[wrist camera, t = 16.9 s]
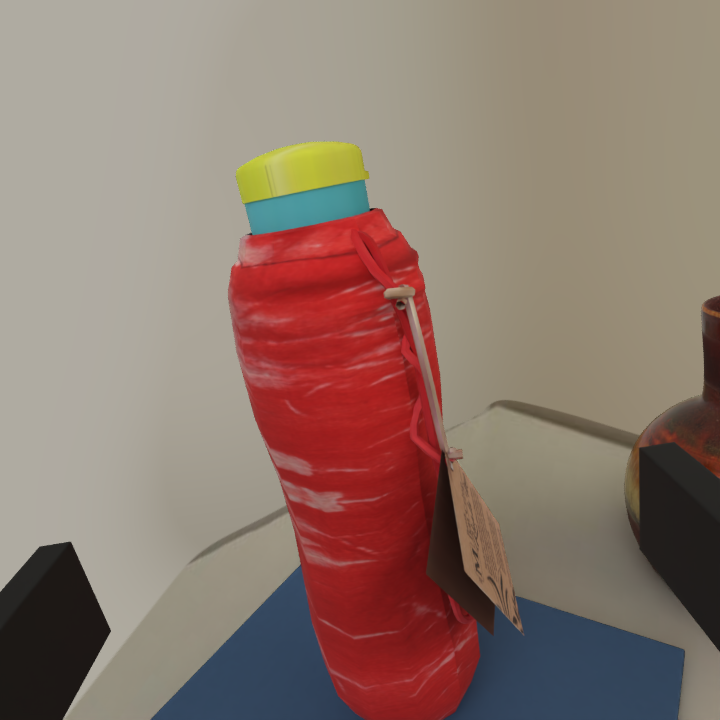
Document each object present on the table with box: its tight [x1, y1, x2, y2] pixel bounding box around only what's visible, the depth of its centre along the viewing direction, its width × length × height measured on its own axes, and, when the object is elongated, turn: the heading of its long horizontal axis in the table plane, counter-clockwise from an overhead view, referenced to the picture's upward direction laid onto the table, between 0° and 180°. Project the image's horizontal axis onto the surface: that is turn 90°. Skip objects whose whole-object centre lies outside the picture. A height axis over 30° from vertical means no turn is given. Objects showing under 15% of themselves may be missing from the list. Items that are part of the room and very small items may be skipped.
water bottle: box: [228, 142, 524, 720], centre depth 20 cm, size 12×8×25 cm, turn 38°
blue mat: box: [151, 565, 685, 720], centre depth 25 cm, size 22×16×1 cm
